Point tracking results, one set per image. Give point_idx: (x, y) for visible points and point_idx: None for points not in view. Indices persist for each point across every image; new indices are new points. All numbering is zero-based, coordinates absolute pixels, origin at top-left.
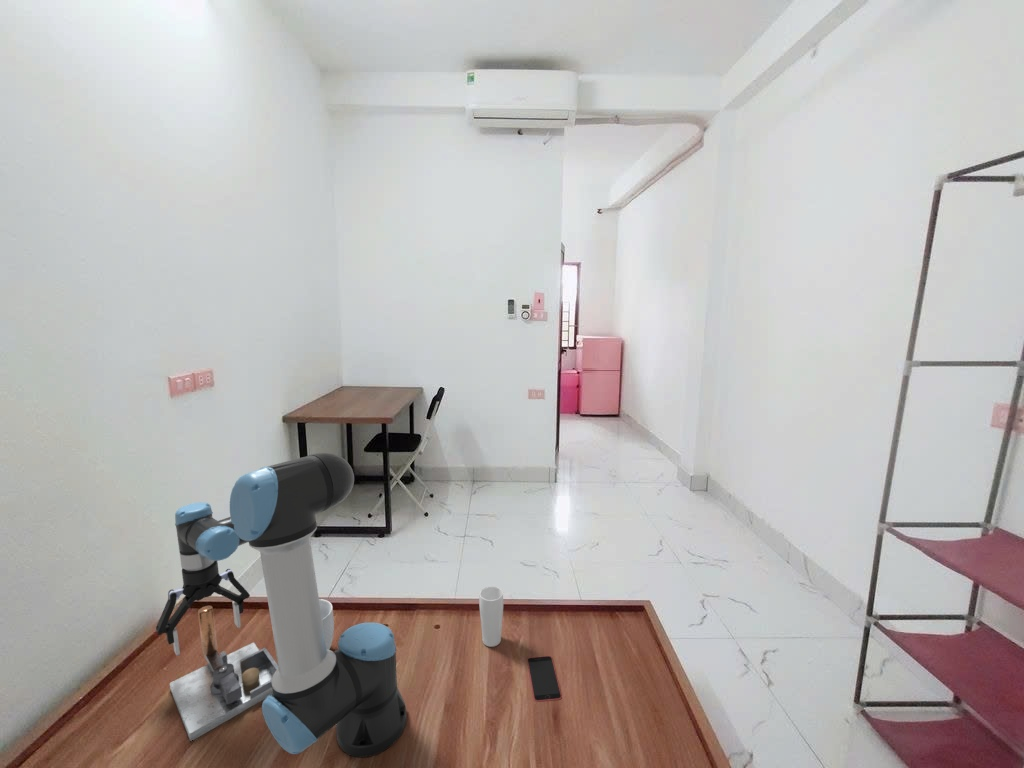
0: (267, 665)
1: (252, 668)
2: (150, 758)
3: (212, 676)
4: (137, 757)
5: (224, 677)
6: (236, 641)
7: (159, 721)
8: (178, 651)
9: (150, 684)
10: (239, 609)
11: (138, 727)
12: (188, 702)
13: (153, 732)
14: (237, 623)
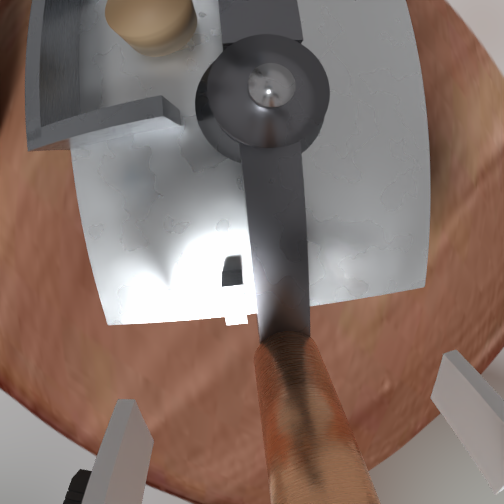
0: (70, 82)
1: (124, 30)
2: (463, 23)
3: None
4: (486, 55)
5: (272, 30)
6: (177, 389)
7: (453, 141)
8: (458, 363)
9: (432, 338)
10: (88, 499)
11: (487, 167)
12: (399, 111)
13: (465, 108)
14: (125, 422)
